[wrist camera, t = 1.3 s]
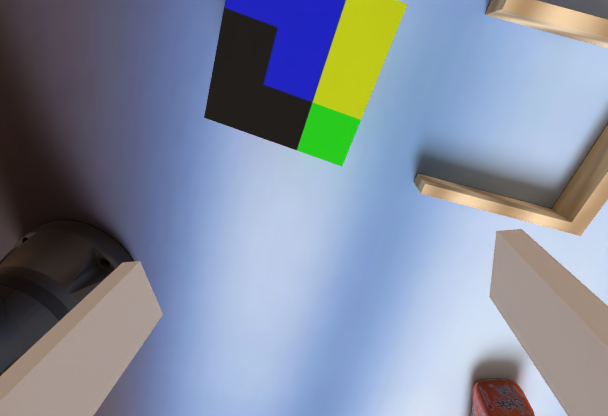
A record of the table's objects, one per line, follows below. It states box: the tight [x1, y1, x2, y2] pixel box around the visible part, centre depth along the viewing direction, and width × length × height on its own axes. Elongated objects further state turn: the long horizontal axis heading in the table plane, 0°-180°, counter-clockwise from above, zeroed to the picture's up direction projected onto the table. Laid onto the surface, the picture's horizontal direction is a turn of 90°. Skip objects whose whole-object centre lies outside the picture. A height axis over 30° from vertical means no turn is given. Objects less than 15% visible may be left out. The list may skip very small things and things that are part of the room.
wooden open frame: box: [414, 0, 608, 236], centre depth 27 cm, size 16×16×3 cm
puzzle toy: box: [204, 0, 407, 166], centre depth 24 cm, size 10×10×10 cm
